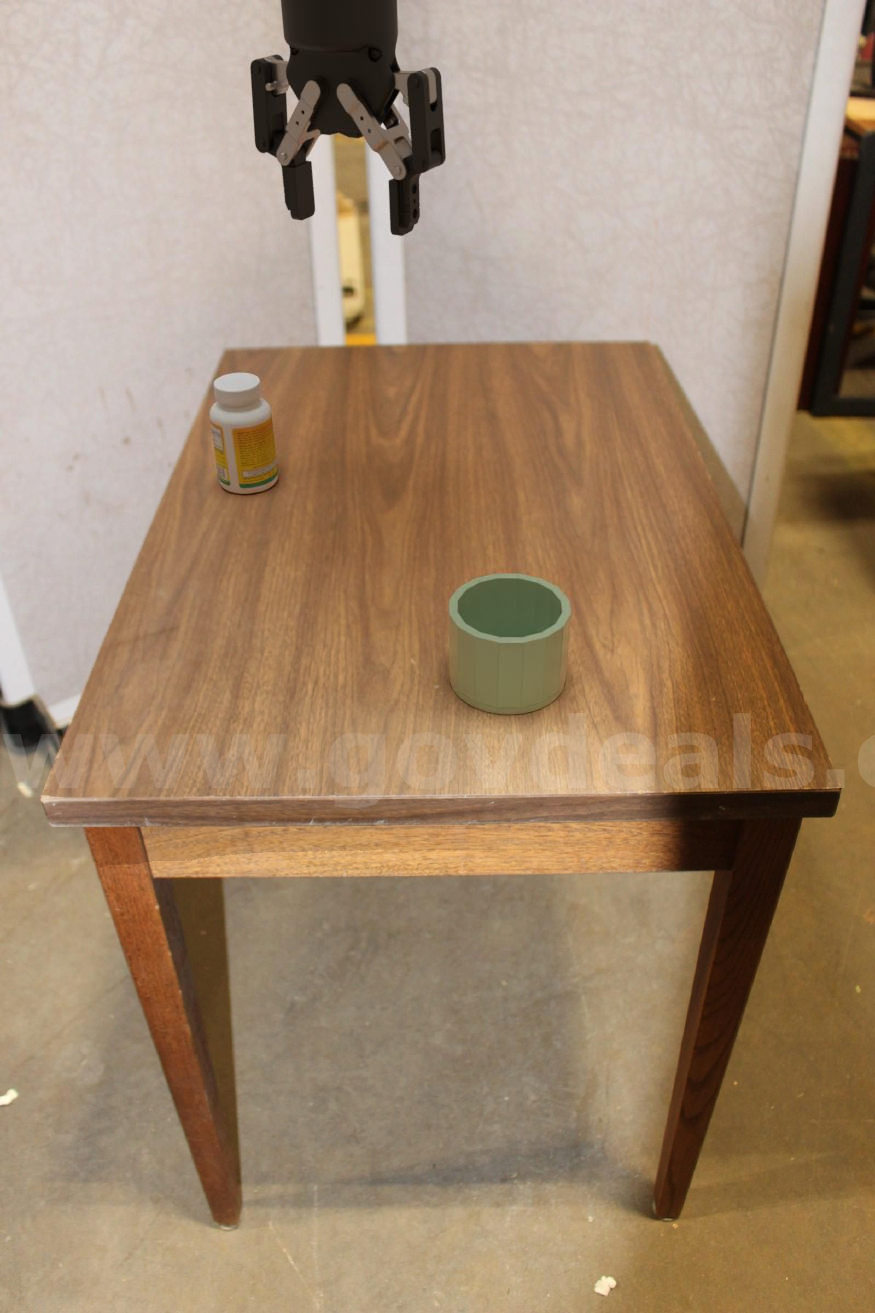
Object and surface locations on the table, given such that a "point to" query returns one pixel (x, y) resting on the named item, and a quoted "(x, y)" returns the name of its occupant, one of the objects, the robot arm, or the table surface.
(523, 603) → the holder
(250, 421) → the supplement bottle
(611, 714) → the table surface
